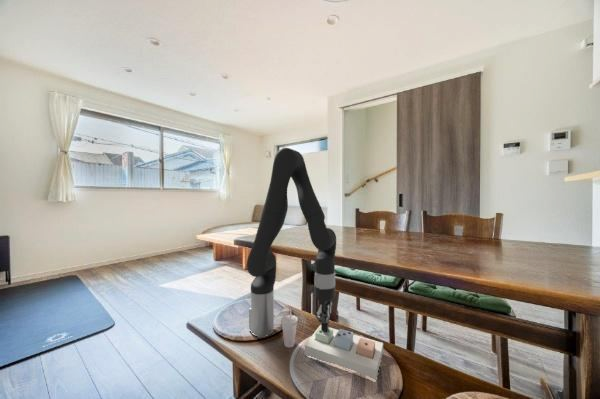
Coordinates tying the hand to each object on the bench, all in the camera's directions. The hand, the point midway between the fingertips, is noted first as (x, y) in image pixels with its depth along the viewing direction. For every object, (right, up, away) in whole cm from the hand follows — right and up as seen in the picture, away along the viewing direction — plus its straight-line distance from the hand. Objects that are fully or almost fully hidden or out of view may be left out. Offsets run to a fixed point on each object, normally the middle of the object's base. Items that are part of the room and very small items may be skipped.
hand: (324, 330), depth 85 cm
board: (+6, -7, -3) cm, 10 cm away
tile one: (+13, -6, -7) cm, 16 cm away
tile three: (+6, -5, -3) cm, 9 cm away
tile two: (0, -6, 0) cm, 6 cm away
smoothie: (-13, -7, +3) cm, 15 cm away
